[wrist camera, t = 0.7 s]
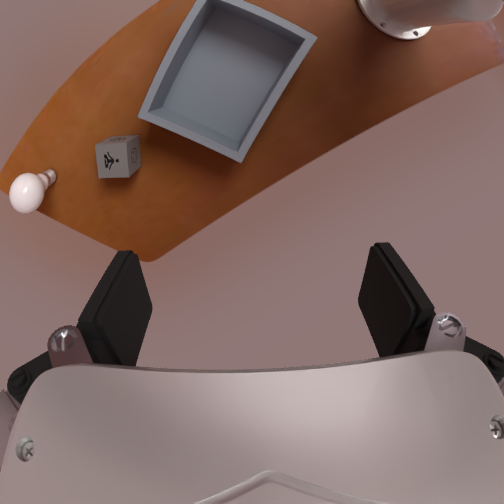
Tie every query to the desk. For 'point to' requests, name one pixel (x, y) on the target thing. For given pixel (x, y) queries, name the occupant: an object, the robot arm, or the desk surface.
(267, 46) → the box
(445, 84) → the desk surface
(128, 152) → the dice cube
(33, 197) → the lightbulb
